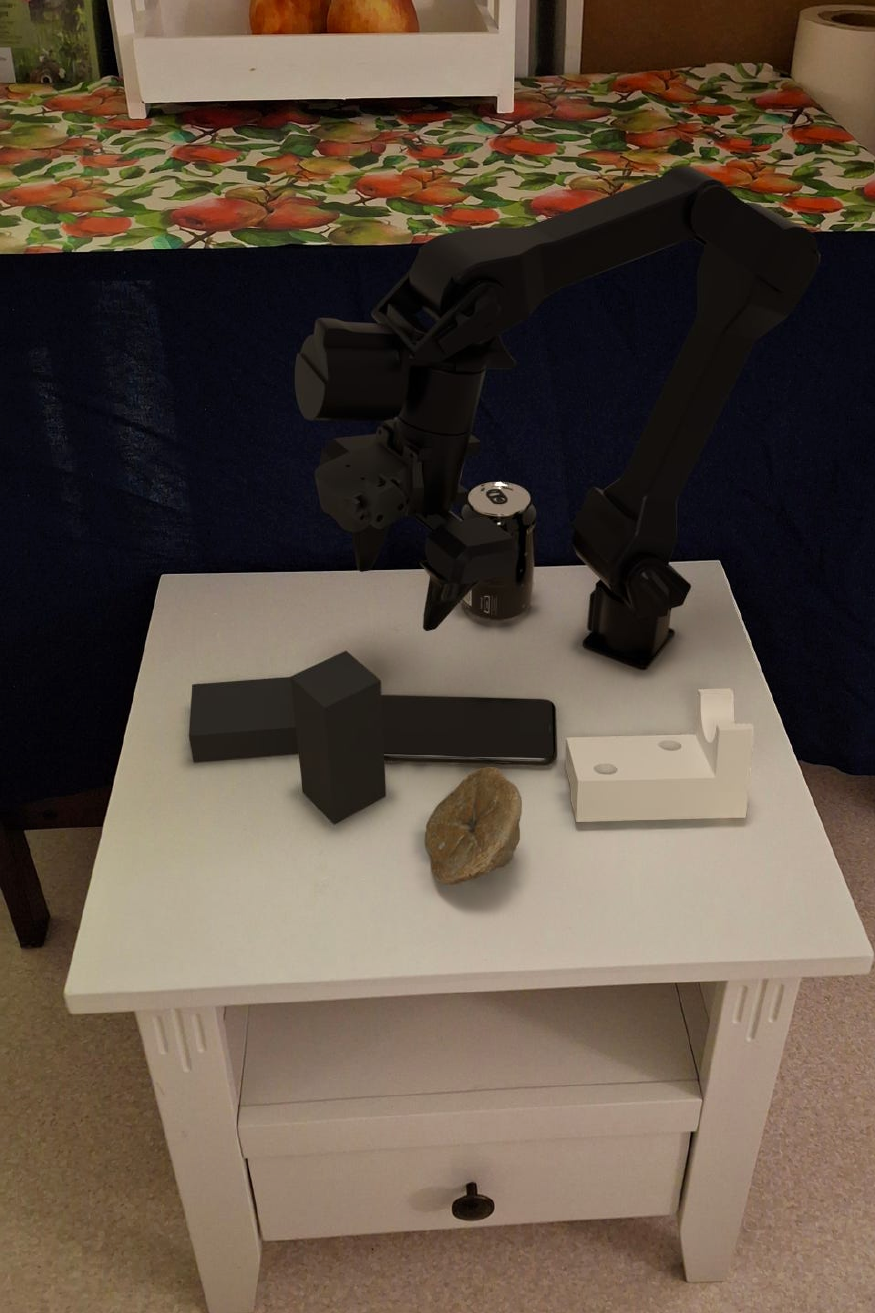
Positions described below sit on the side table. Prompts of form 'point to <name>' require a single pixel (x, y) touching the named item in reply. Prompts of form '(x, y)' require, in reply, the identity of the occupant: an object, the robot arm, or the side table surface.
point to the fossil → (474, 827)
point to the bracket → (665, 769)
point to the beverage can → (519, 521)
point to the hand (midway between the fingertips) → (395, 599)
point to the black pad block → (339, 735)
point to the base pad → (242, 719)
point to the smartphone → (469, 730)
